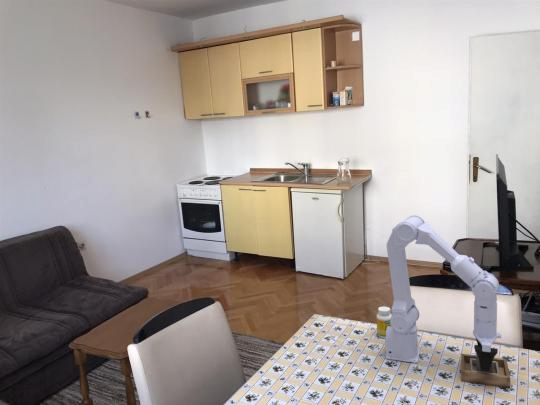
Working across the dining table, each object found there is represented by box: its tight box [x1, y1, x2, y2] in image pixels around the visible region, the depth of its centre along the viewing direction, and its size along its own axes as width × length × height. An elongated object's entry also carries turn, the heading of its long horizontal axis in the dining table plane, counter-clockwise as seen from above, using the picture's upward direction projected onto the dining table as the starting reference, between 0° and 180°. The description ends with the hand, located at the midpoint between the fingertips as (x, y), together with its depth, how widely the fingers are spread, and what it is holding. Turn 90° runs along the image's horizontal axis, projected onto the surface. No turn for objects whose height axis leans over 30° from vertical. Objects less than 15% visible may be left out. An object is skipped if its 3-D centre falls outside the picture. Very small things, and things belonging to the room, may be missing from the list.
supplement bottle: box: [376, 306, 392, 339], centre depth 153 cm, size 5×5×10 cm
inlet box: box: [460, 353, 511, 389], centre depth 126 cm, size 12×10×3 cm
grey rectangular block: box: [475, 352, 493, 373], centre depth 126 cm, size 4×4×6 cm
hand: (484, 363), depth 126 cm, fingers open, 7 cm apart
